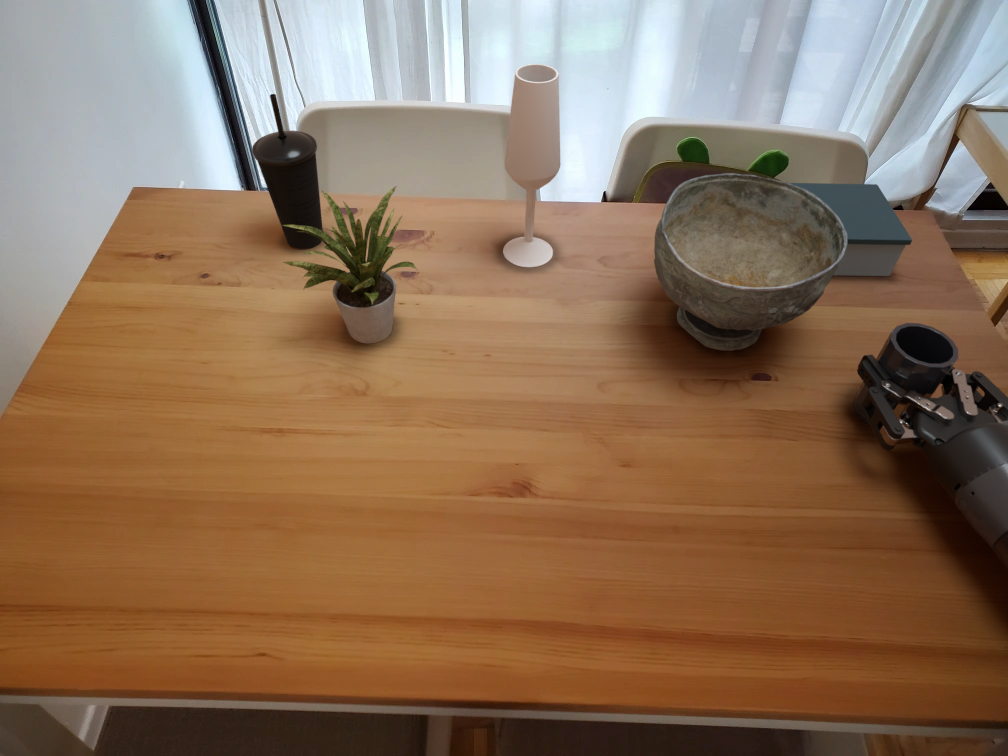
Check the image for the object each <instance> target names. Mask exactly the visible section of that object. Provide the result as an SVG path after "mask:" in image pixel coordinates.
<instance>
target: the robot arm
mask: <svg viewBox="0 0 1008 756" xmlns="http://www.w3.org/2000/svg"><path fill="white" fill-rule="evenodd" d="M876 358H877V357H875V356H874V354H866V355H865V354H864V355H863V356H862V358H861V360H860V362H858V366H857V369H856V372H857V375H858V376H859V378H860V379H861V380H862V383H863V382H864V383H865V384H866V386H867V387H868V388H869V390H868V391H867V394H866V396H865V397H864V399H863V401H862V402H861V403H860V405H859V407H860V409H861V411H862V412H863V414H864V416H865V418H866V419H867V421H868V423H869V425H868V426H870V428H871V430H872V432H873V433H874V435H875V437H876V438H877V440H878V443H879V444H880V446H881V447H882V448H883V449H884V450H886V451H893V450H894V449H895V447H897V445H907V444H912V445H913V447H915V448H917V449H918V450H919V451H921V452H922V453H923V454H924V455H925V457H926V460H927V465H928V468H929V471H930V472H931V474H932V475H933V476H934V478H935V479H936V481H938V483H939V484H940V486H941V487H942V488H943V490H944V491H945V492H946V494H947V495H948V496H949V498H950V500H951V501H952V502H953V504H954V505H955V506H956V507H957V509H958V510H959V512H960V513H961V514H962V515H963V517H964V518H965V519H966V521H967V522H968V523H969V525H970V526H971V528H972V529H973V530H974V532H976V533H977V535H979V536H980V537H981V538H982V539H983V540H984V542H985V543H986V544H987V545H988V546H989V547H990V548H991V549H992V551H994V553H995V555H996V556H997V557H998V559H999V560H1000V561H1001V563H1002V564H1003V565H1004V567H1005V569H1006V570H1008V396H1007V395H1006V393H1004V392H1003V391H1002V390H1001V389H1000V388H999V387H998V386H996V384H995V383H993V382H992V381H991V380H990V378H989V377H987V375H985V374H984V373H983V372H981V371H977V370H974V371H972V373H965V372H964V370H961V369H959V368H958V369H957V368H956V367H955V366H953V367H952V368H951V370H950V371H949V373H948V374H947V375H946V377H945V378H944V380H943V381H942V383H941V384H940V385H941V386H940V388H941V395H940V396H939V397H931V398H925V397H923V396H921V395H920V394H918V393H917V392H915V391H913V390H909V391H906V390H904V389H903V388H901V387H899V386H898V385H896V384H895V383H893V382H891V381H890V380H891V378H890V376H889V375H888V374H887V372H886V371H885V370H884V369H883V367H882V366H881V365H880V363H879V362H878V361H877V360H876ZM978 389H980V390H982V392H983V393H984V394H982V393H980V391H978ZM889 395H891V396H893V397H894V398H896V399H897V400H898V401H899V403H898V404H897V403H896V402H894V401H893V400H891V399H889V398H888V397H889ZM910 404H912V405H914V406H915V408H914V409H913V411H912V412H911V415H910V416H909V415H908V414H907V412H906V410H907V408H908V407H909V405H910Z"/></svg>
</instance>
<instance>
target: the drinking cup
mask: <svg viewBox="0 0 1008 756" xmlns="http://www.w3.org/2000/svg"><path fill="white" fill-rule="evenodd" d="M269 98H270V102H271V107H272V111H273V116H274V120H275V125H276V128H277V131H275V132H271V133H268V134H266V135H263V136H262V137H259V138H258V139H257V140H256V141H255V142H254V143H253V145H252V148H251V152H252V153H251V154H252V156H253V158H254V160H256V161H257V163H258V166H259V169H260V172H261V174H262V178H263V180H264V183H265V186H266V188H267V191H268V193H269V197H270V199H271V202H272V205H273V208H274V210H275V212H276V216H277V218H278V221H279V224H280V226H281V230H282V232H283V235H284V237H285V240H286V242H287V245H288V246H289V247H291V248H293V249H295V250H309V249H313V248H315V247H317V246H319V245H320V244H321V243H322V242H323V241H322V240H320V239H319V238H317V237H316V236H314V235H311V234H309V233H305V232H297V231H305V230H301V229H297V228H292V227H287V226H282V225H301V226H310V227H315V228H317V229H319V230H321V231H323V232H324V230H323V228H324V227H323V220H322V219H323V217H322V207H321V197H320V187H319V186H320V185H319V175H318V165H317V164H318V163H317V154H316V152H317V150H318V143H317V140H316V139H315V137H313V136H312V135H311V134H309V133H307V132H304V131H300V130H285V129H284V125H283V121H282V116H281V112H280V108H279V103H278V98H277V94H276V93H270V95H269ZM307 232H308V231H307ZM319 237H320V236H319ZM321 238H322V237H321ZM322 239H323V238H322ZM323 240H324V239H323Z"/></svg>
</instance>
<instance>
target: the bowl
mask: <svg viewBox="0 0 1008 756" xmlns="http://www.w3.org/2000/svg"><path fill="white" fill-rule="evenodd" d="M790 183H791V182H788V181H783V180H778V179H773V178H770V177H762V176H759V175H756V174H755V175H754V174H741V173H735V172H734V173H733V172H724V173H718V174H717V173H716V174H705V175H701V176H697V177H694V178H690V179H687V180H685V181H683V182H681V183H680V184H678V186H676V187H675V188H674V190H672V192H671V194H670V196H669V197H668V198H667V201H666V203H665V205H664V208H663V210H662V213H661V217H660V220H659V221H658V223H657V224H656V228H655V232H654V246H653V247H654V248H653V249H654V250H653V251H654V253H653V254H654V260H653V263H654V267H655V268H654V269H655V272H656V277H657V280H658V282H659V284H660V286H661V288H662V290H663V291H664V293H665V294H666V296H667V298H668V299H669V300H671V301H672V302H673V303H674V304H676V305H677V306H678V310H677V313H676V320H677V323H678V325H679V326H680V327H681V328H683V329H684V330H685V331H686V332H687V333H688V334H689V335H690V336H692V337H693V338H694V339H695V340H697V342H698V343H700V344H701V345H702V346H704V347H706V348H709V349H713V350H718V351H729V352H733V351H739V350H743V349H746V348H748V347H750V346H752V345H754V344H755V343H757V341H758V339H760V335H761V332H762V329H770V328H774V327H778V326H781V325H784V324H786V323H789V322H791V321H793V320H794V319H796V318H798V317H800V316H802V315H803V314H805V313H806V312H808V311H810V310H811V309H812V308H813V307H814V305H815V304H816V303H817V302H818V301H819V299H821V297H822V296H823V295H824V292H825V290H826V288H827V286H828V285H829V284H830V283H831V280H832V278H833V276H834V275H833V274H834V273H835V271H836V269H837V267H838V264H839V262H840V260H841V259H842V257H843V255H844V253H845V251H846V247H847V232H846V230H845V228H844V226H843V224H842V222H841V220H840V218H839V217H838V216H837V215H836V214H835V213H834V211H833V210H832V209H831V208H830V207H829V206H828V205H827V204H826V203H825V202H823V201H822V200H821V199H820V198H818V197H817V196H816V195H814V194H813V193H811V192H809V191H807V190H806V189H803V188H800V187H797V186H795V185H792V184H790Z"/></svg>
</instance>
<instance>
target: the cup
mask: <svg viewBox="0 0 1008 756" xmlns="http://www.w3.org/2000/svg"><path fill="white" fill-rule="evenodd" d="M875 358H876V360H877V361H878V362H879V363H880V365H881V366H882V367H883V369H884V370H885V371H886V372H887V374H888V375H889V376H890V378H891V380H890V381H891V382H893V383H895V384H896V385H898V386H899V387H901V388H903V389H904V390H906V391H909V390H913V391H915V392H917V393H918V394H920V395H921V396H923V397H925V398H933V396H934V395H935V393H936V392H937V390H938V389H939V387H941V385H942V384H941V383H942V381H943V380H944V378H945V377H946V375H947V374H948V373H949V371H950V370H951V368H952V367H954V366H955V364H956V363H957V361H958V360H959V348H958V346H957V344H956V343H955V342H954V340H953V339H952V338H951V337H949V336H948V335H947V334H946V333H945V332H943V331H942V330H939V329H937V328H935V327H934V326H931V325H927V324H923V323H919V322H905V323H902V324H899V325H896V326H895V327H894V328H893V329H892V330H891V331H890V333H889V335H888V337H887V338H886V340H885V342H884V344H883V345H882V348H881V349H880V351H879V352H878V354H877V356H876V357H875ZM868 390H869V388H868V387H867V386H866V384H865V383H864V382H863V381H862V383H861V384H860V387H859V388H858V390H857V392H856V393H855V396H854V398H853V408H854V411H855V413H856V414H857V416H858V417H859V418H860V419H861V420H862V421H863V422H864V423H865V424H867V425H868V426H870V425H869V423H868V421H867V419H866V418H865V416H864V414H863V412H862V411H861V409H860V407H859V405H860V403H861V402H862V401H863V399H864V397H865V396H866V394H867V391H868ZM888 398H889V399H891V400H893V401H894V402H896V403H897V404H898V403H899V401H898V400H897V399H896V398H894V397H893V396H891V395H889V397H888ZM914 408H915V406H914V405H912V404H910V405H909V407H908V408H907V410H906V412H907V414H908V415H909V416H910V415H911V412H912V411H913V409H914Z"/></svg>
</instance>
